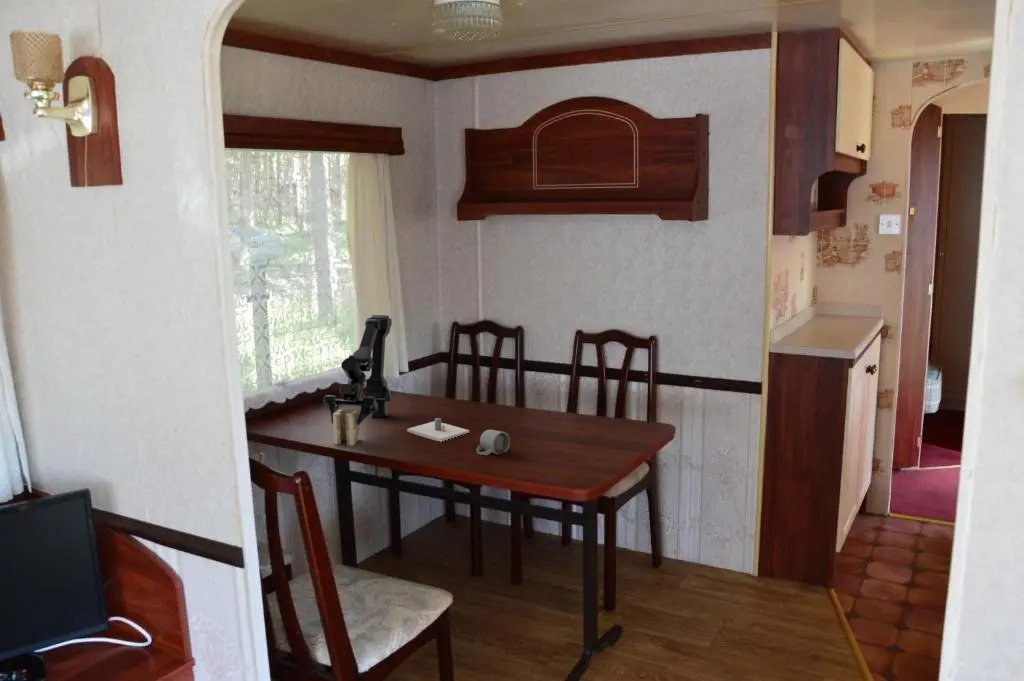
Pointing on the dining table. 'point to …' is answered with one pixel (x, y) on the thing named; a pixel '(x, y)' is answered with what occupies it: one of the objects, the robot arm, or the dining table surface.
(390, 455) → the dining table surface
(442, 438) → the post plate
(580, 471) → the dining table surface
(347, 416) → the beech collar
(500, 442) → the ceramic mug
